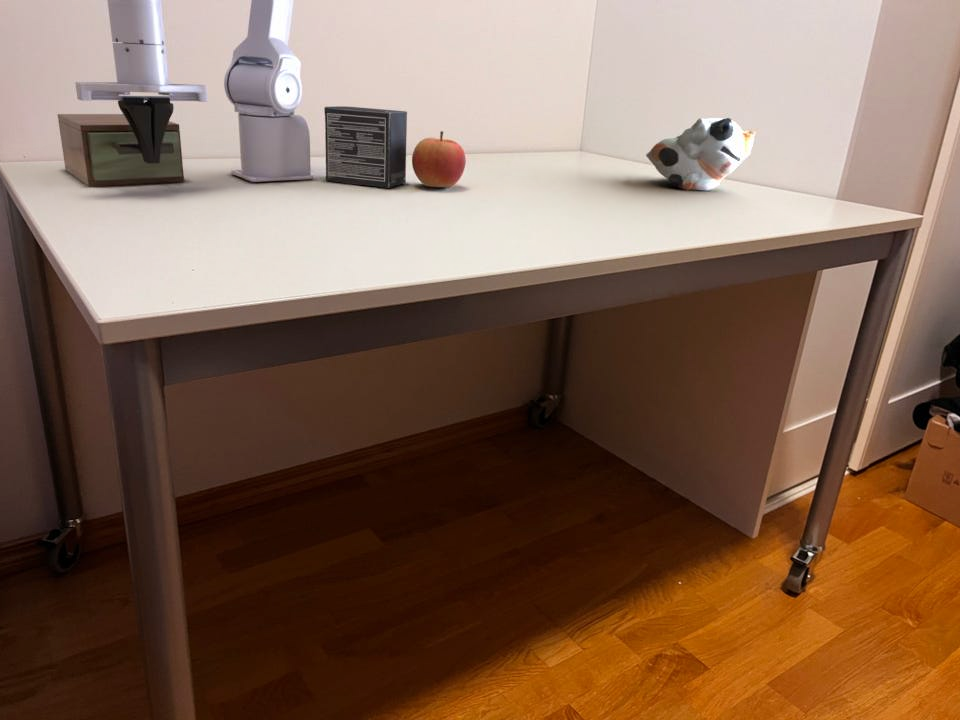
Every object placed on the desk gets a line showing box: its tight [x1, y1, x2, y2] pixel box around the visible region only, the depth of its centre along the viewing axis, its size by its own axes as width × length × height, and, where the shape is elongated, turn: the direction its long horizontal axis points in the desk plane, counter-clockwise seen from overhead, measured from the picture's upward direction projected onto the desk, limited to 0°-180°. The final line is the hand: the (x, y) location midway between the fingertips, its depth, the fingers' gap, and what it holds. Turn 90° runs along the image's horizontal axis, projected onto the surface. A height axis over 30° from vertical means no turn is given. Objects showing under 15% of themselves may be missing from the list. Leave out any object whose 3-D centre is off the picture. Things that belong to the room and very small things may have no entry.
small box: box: [323, 105, 408, 189], centre depth 111 cm, size 11×6×10 cm, turn 71°
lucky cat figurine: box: [645, 117, 756, 191], centre depth 126 cm, size 15×12×14 cm
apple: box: [411, 130, 467, 188], centre depth 111 cm, size 8×8×8 cm
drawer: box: [87, 131, 182, 181], centre depth 101 cm, size 17×11×6 cm, turn 38°
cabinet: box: [57, 113, 185, 187], centre depth 105 cm, size 14×12×8 cm
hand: (151, 162), depth 94 cm, fingers closed, pressing on drawer
